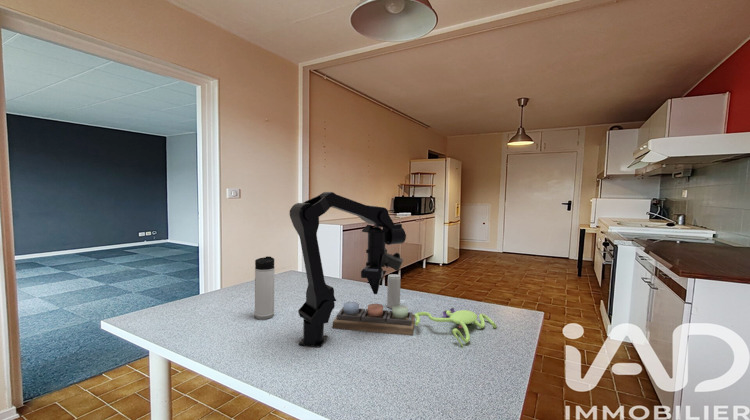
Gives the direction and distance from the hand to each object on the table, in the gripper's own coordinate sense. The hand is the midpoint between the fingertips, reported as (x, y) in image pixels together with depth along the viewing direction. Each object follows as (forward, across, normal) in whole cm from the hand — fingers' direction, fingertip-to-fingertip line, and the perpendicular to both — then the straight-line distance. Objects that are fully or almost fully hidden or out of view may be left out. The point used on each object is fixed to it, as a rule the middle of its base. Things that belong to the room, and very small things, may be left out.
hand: (375, 293), depth 105 cm
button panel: (+10, 0, 0) cm, 10 cm away
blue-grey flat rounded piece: (+6, 0, +8) cm, 10 cm away
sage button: (+7, 0, -8) cm, 10 cm away
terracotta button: (+7, 0, 0) cm, 7 cm away
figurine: (+11, +2, -25) cm, 28 cm away
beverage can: (+10, +18, -4) cm, 21 cm away
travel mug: (+10, -1, +38) cm, 39 cm away
